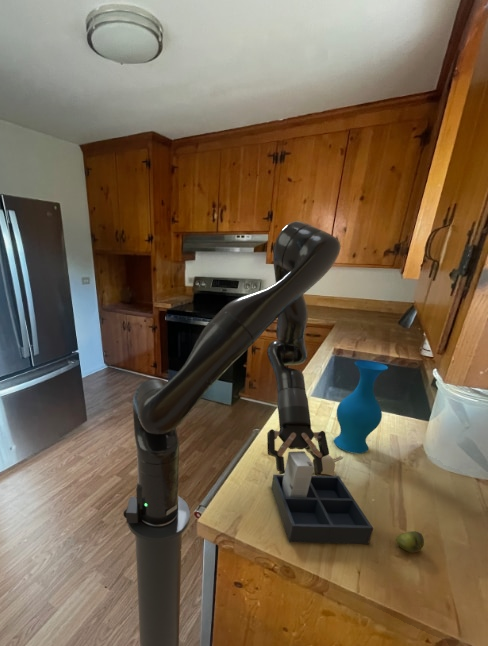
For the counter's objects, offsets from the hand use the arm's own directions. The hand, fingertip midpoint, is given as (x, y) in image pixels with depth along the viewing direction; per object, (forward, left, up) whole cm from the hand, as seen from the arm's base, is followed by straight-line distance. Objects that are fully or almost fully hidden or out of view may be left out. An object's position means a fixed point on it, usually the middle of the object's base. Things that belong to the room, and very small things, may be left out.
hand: (300, 474), depth 78 cm
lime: (+21, -12, -10) cm, 26 cm away
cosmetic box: (0, +1, -9) cm, 9 cm away
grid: (+4, -3, -9) cm, 11 cm away
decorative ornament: (+13, +14, -10) cm, 21 cm away
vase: (+27, +28, -10) cm, 40 cm away
